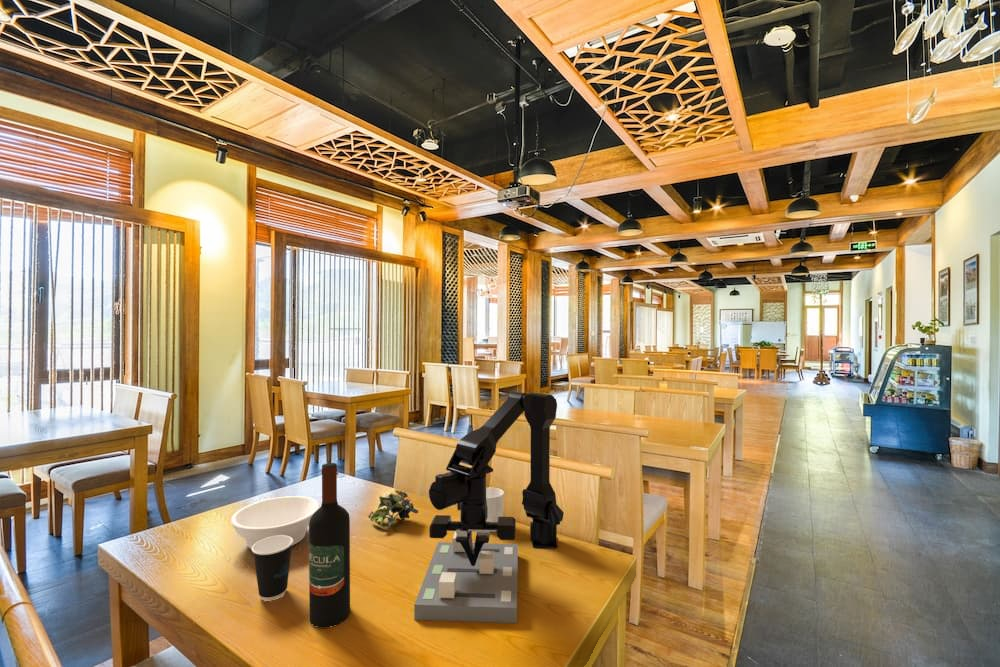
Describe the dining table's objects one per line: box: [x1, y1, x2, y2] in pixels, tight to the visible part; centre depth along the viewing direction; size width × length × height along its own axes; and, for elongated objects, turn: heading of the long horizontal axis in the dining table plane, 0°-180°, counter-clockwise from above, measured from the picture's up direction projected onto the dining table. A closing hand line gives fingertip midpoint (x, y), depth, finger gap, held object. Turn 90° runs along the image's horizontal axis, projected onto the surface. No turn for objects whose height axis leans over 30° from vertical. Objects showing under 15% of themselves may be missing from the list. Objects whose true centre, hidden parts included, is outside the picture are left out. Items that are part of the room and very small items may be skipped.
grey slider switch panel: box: [413, 541, 519, 624], centre depth 99 cm, size 20×25×3 cm
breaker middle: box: [479, 551, 494, 574], centre depth 99 cm, size 3×4×3 cm
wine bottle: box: [308, 462, 351, 628], centre depth 88 cm, size 8×8×30 cm
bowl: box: [230, 495, 321, 550], centre depth 119 cm, size 21×21×8 cm
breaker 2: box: [452, 531, 465, 552], centre depth 108 cm, size 3×4×3 cm
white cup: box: [486, 486, 505, 522], centre depth 127 cm, size 8×8×10 cm
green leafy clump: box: [368, 490, 419, 530], centre depth 128 cm, size 11×11×12 cm
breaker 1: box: [439, 572, 456, 598], centre depth 90 cm, size 3×4×3 cm
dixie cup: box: [251, 535, 293, 601], centre depth 95 cm, size 8×8×11 cm
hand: (473, 565), depth 99 cm, fingers closed
